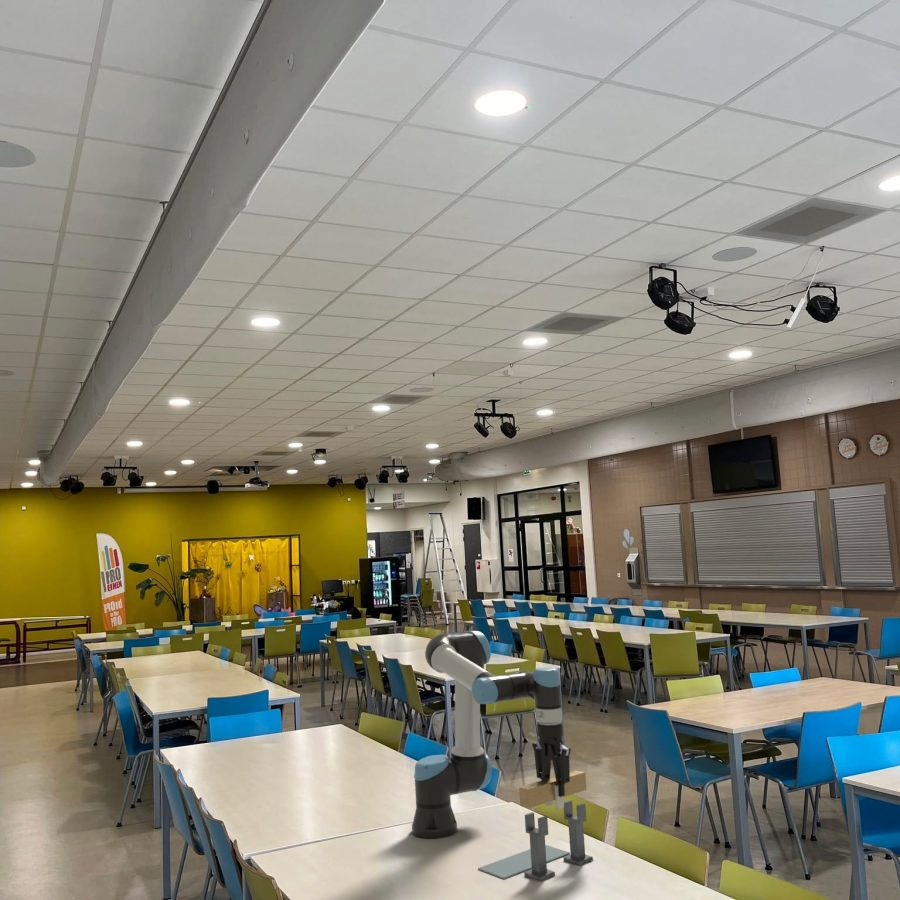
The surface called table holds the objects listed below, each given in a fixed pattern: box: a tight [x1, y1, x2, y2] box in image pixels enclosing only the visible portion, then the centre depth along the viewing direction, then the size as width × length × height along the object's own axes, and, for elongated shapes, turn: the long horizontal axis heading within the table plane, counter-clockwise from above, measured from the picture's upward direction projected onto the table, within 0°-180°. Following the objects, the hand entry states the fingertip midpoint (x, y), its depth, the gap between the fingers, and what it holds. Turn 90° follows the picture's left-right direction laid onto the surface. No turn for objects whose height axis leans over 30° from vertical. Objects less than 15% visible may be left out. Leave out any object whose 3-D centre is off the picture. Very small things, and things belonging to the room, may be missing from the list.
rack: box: [523, 799, 594, 883], centre depth 234 cm, size 6×22×16 cm, turn 129°
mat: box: [477, 844, 571, 880], centre depth 240 cm, size 11×27×1 cm, turn 129°
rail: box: [518, 770, 587, 809], centre depth 237 cm, size 4×24×5 cm, turn 129°
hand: (554, 806), depth 236 cm, fingers closed on rail, 3 cm apart
